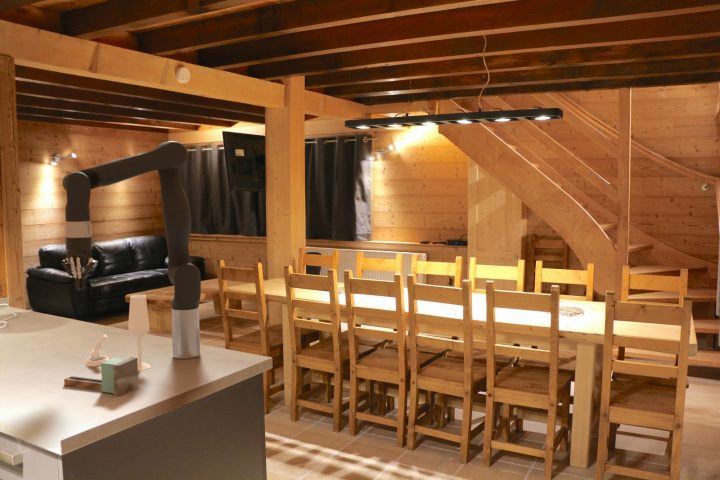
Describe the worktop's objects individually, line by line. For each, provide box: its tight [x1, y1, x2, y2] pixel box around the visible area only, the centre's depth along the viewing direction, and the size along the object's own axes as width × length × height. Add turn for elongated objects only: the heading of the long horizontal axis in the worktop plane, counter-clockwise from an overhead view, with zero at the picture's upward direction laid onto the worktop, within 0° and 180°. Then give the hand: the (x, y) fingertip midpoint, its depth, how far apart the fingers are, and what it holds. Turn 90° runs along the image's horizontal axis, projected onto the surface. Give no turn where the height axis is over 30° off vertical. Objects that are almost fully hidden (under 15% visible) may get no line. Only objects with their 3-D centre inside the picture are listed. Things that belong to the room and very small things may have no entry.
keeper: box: [100, 357, 127, 394], centre depth 172 cm, size 5×6×8 cm
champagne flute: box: [127, 294, 152, 372], centre depth 192 cm, size 7×7×24 cm
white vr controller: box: [84, 334, 110, 367], centre depth 198 cm, size 8×12×7 cm
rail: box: [64, 356, 139, 397], centre depth 173 cm, size 22×8×9 cm, turn 73°
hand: (80, 289), depth 186 cm, fingers closed
